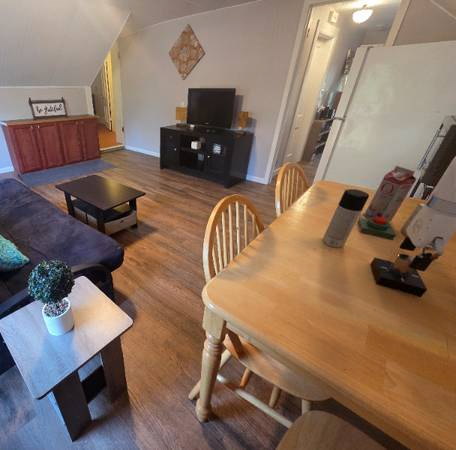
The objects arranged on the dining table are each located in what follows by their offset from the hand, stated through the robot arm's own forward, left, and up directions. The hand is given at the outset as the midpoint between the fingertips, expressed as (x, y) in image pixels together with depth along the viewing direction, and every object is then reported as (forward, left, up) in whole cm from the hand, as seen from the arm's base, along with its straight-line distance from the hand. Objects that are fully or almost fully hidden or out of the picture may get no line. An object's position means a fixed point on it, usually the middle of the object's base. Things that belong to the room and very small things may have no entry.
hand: (410, 258), depth 69 cm
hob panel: (+1, 0, -8) cm, 8 cm away
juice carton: (-2, -44, -8) cm, 45 cm away
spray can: (+16, -13, -8) cm, 22 cm away
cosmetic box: (-11, -34, -8) cm, 37 cm away
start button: (+1, -31, -4) cm, 31 cm away
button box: (+1, -31, -8) cm, 32 cm away
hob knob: (+1, 0, -5) cm, 5 cm away
